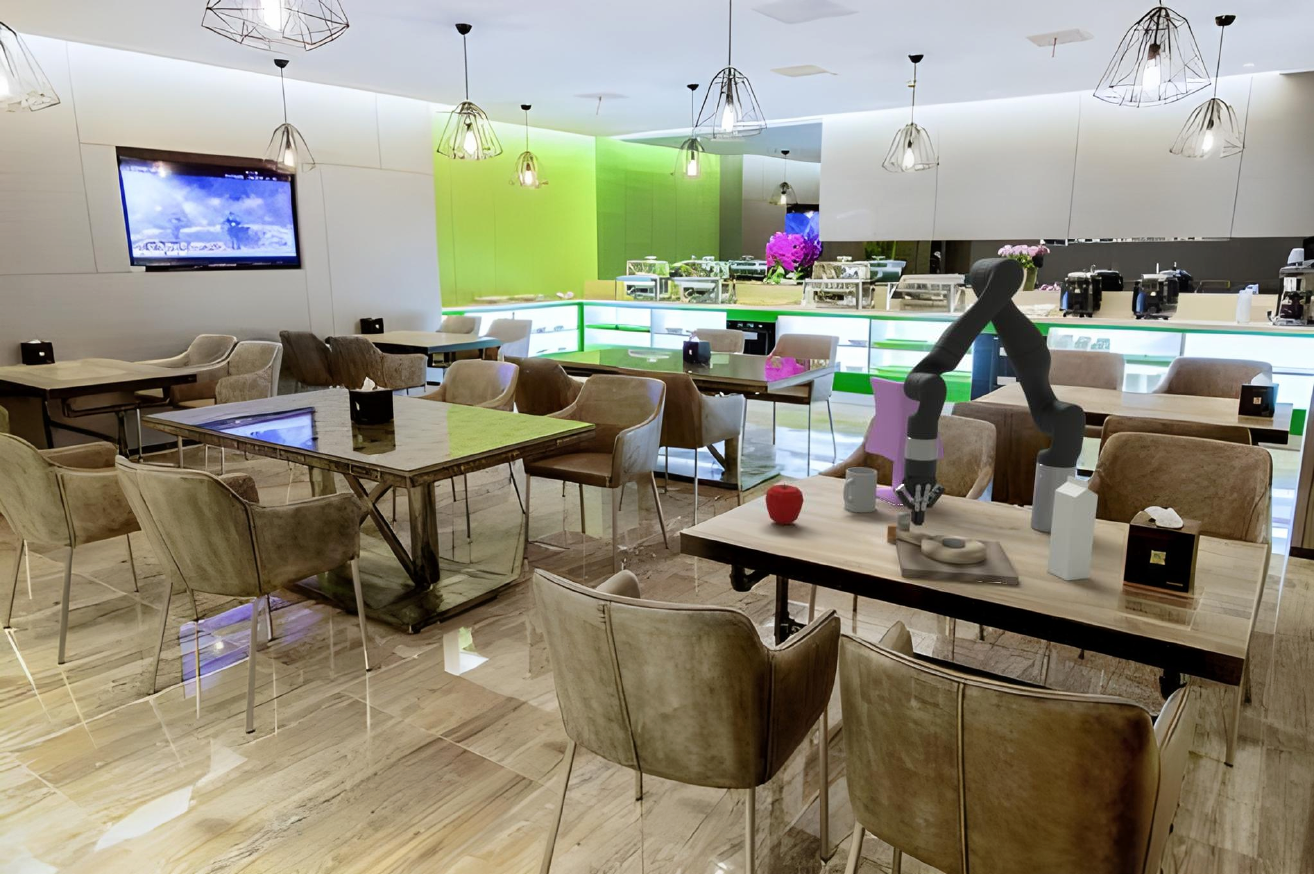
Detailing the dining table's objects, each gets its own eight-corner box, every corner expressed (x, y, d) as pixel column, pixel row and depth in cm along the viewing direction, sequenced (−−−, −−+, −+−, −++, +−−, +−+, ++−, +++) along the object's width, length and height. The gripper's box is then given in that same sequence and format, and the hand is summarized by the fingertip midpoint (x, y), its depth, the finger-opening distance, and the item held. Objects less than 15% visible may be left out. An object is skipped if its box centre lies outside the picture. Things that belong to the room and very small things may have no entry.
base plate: (996, 546, 206) (998, 530, 205) (1017, 585, 181) (1019, 567, 181) (886, 538, 211) (887, 523, 211) (892, 575, 187) (893, 558, 186)
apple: (764, 528, 220) (765, 487, 217) (764, 517, 229) (765, 478, 227) (803, 529, 218) (804, 489, 216) (801, 518, 228) (803, 479, 225)
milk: (1066, 581, 184) (1076, 483, 179) (1046, 571, 190) (1055, 476, 185) (1089, 578, 186) (1100, 480, 181) (1068, 568, 191) (1078, 474, 187)
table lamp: (906, 488, 258) (914, 374, 251) (940, 501, 244) (949, 381, 237) (862, 493, 253) (869, 376, 246) (894, 507, 239) (902, 384, 232)
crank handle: (997, 555, 193) (1000, 530, 192) (961, 568, 185) (963, 542, 184) (915, 530, 211) (917, 507, 210) (879, 541, 203) (880, 517, 202)
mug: (855, 502, 243) (857, 465, 241) (881, 508, 237) (883, 470, 235) (830, 510, 235) (832, 472, 233) (857, 517, 229) (859, 478, 227)
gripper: (938, 450, 208) (934, 518, 211) (888, 453, 205) (884, 521, 209) (954, 457, 201) (950, 527, 204) (902, 460, 198) (898, 531, 202)
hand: (917, 524), depth 206 cm, fingers closed
